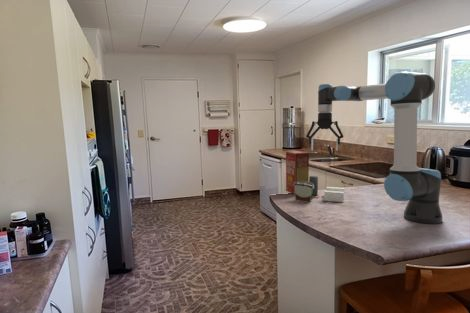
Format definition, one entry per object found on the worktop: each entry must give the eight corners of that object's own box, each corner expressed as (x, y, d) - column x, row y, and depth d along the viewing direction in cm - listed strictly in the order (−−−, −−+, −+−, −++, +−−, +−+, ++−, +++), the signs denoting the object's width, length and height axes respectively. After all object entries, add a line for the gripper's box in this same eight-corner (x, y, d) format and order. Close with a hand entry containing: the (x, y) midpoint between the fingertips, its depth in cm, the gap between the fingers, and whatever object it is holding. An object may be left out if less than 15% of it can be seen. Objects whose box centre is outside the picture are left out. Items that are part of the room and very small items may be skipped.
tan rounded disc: (318, 198, 182) (318, 197, 182) (306, 197, 185) (306, 196, 185) (320, 195, 189) (320, 194, 189) (308, 194, 191) (308, 193, 191)
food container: (318, 201, 177) (318, 183, 175) (312, 203, 172) (313, 185, 171) (298, 197, 185) (299, 180, 184) (293, 199, 180) (293, 182, 179)
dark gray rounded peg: (316, 196, 183) (317, 177, 182) (308, 196, 185) (308, 177, 184) (318, 194, 188) (318, 176, 186) (309, 194, 190) (310, 175, 188)
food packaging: (284, 190, 202) (285, 151, 199) (298, 189, 205) (298, 150, 202) (295, 195, 189) (296, 153, 186) (309, 194, 192) (310, 152, 189)
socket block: (343, 202, 174) (343, 193, 173) (324, 200, 177) (324, 191, 177) (344, 196, 186) (344, 187, 186) (326, 194, 190) (326, 186, 189)
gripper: (348, 112, 178) (347, 149, 181) (303, 113, 187) (303, 149, 189) (348, 111, 171) (347, 151, 174) (301, 112, 180) (301, 150, 182)
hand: (324, 150), depth 182 cm, fingers open, 13 cm apart
